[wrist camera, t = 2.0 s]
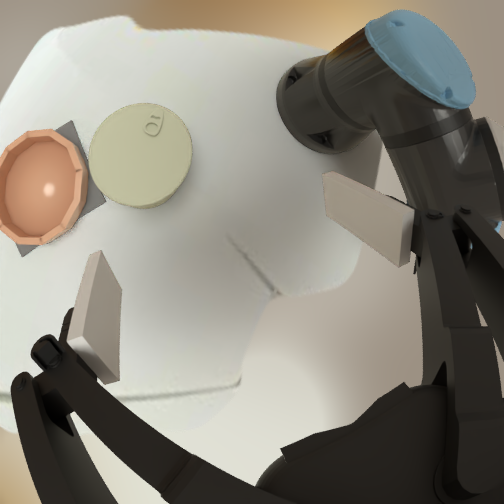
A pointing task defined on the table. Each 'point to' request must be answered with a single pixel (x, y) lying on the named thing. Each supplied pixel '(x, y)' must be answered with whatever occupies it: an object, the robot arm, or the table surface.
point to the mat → (94, 193)
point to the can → (140, 155)
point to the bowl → (41, 187)
